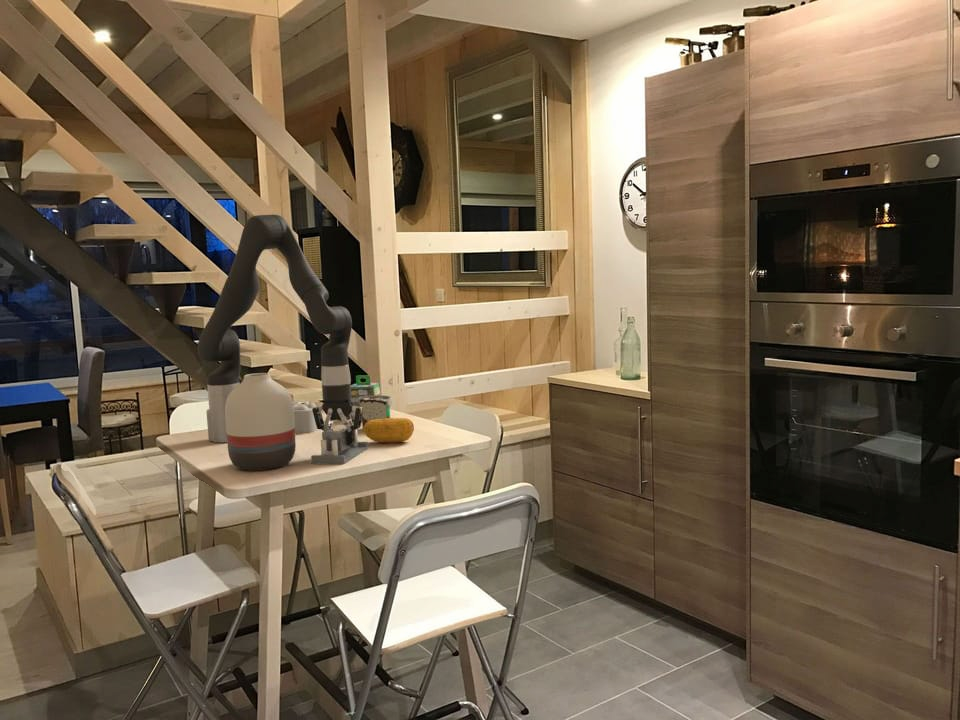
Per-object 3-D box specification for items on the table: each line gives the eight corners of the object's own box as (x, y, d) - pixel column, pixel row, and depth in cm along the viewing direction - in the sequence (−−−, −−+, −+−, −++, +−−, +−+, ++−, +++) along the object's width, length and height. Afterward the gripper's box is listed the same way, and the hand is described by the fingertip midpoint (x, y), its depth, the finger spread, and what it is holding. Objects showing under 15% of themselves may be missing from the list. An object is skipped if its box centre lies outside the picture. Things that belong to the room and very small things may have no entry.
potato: (369, 439, 227) (367, 416, 226) (417, 439, 224) (416, 415, 224) (361, 445, 219) (360, 420, 219) (411, 445, 217) (410, 420, 217)
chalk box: (382, 415, 266) (379, 372, 264) (376, 420, 256) (373, 376, 255) (355, 416, 266) (353, 373, 265) (348, 421, 257) (346, 377, 256)
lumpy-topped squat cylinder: (280, 434, 239) (278, 407, 238) (290, 426, 252) (288, 400, 251) (313, 433, 239) (312, 405, 238) (321, 425, 252) (320, 399, 251)
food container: (402, 427, 243) (400, 396, 242) (389, 431, 238) (387, 399, 237) (371, 424, 249) (370, 394, 248) (359, 428, 244) (357, 397, 243)
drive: (323, 451, 203) (322, 431, 202) (337, 442, 212) (336, 424, 212) (341, 451, 201) (340, 431, 201) (355, 442, 211) (354, 424, 211)
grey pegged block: (311, 463, 200) (310, 441, 199) (337, 448, 216) (336, 428, 216) (344, 463, 198) (342, 441, 197) (367, 448, 214) (366, 428, 214)
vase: (278, 454, 212) (272, 368, 209) (308, 464, 199) (302, 373, 197) (218, 466, 201) (211, 375, 198) (246, 477, 188) (239, 381, 186)
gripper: (304, 384, 203) (308, 447, 205) (356, 384, 200) (360, 448, 202) (316, 380, 210) (320, 441, 212) (366, 380, 207) (370, 442, 209)
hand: (339, 444), depth 207 cm, fingers closed on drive, 5 cm apart
